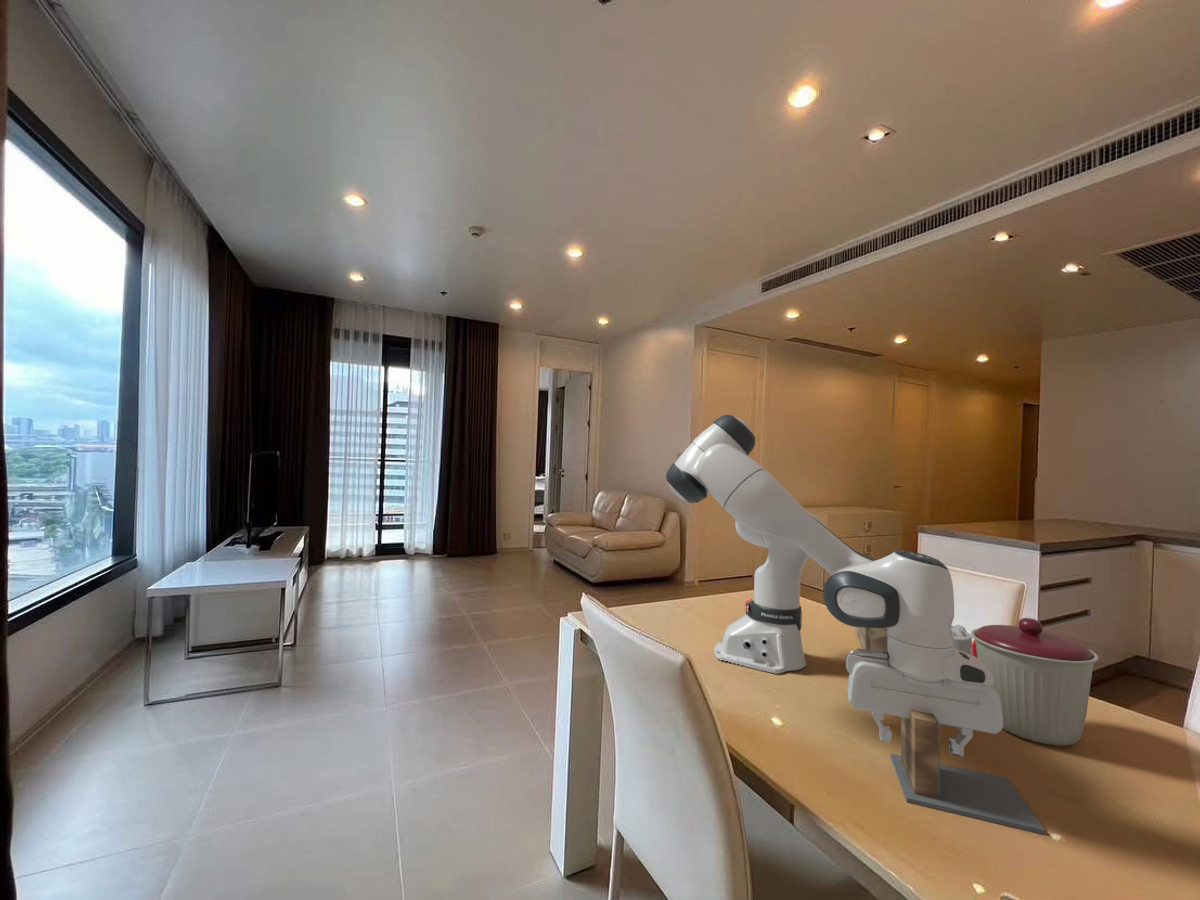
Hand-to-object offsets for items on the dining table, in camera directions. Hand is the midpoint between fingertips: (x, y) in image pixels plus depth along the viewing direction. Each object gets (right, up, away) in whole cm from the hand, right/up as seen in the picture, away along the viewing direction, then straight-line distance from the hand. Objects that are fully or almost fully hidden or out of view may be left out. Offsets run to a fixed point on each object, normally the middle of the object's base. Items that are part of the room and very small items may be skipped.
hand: (919, 746), depth 75 cm
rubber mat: (+5, -6, -2) cm, 7 cm away
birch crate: (+29, -9, +59) cm, 67 cm away
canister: (+32, -7, +16) cm, 37 cm away
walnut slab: (0, -5, 0) cm, 5 cm away
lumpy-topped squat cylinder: (+42, -9, +52) cm, 67 cm away
